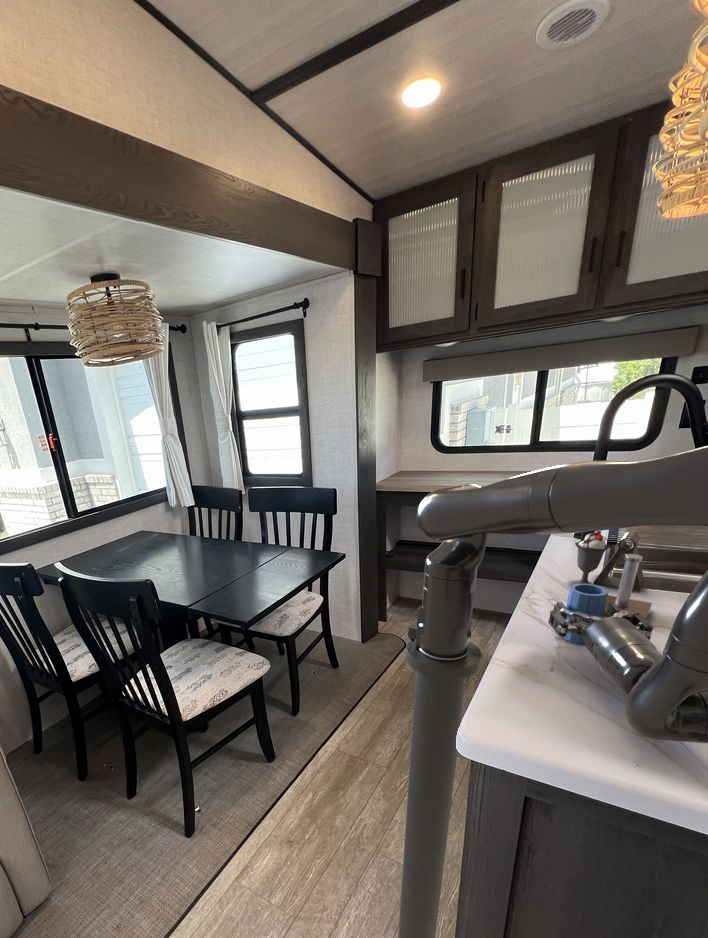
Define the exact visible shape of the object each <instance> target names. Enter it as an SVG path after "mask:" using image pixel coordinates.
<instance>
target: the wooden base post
mask: <svg viewBox="0 0 708 938" xmlns="http://www.w3.org/2000/svg"><path fill="white" fill-rule="evenodd" d="M643 558H644V556H642V555H640V554H639V555H637V554H626V553H625V555H624V558H623V559H624V561H625V562H624V566H623V569H622V574H621V577H620V578H621V581H620V585H619V588H617V593H616V596H615V595H609V594H608V597H607V601H606V605H605V609H604V614H603V616H607V617H609V615H608V614H607V613H606V610H607V606H608V603H614V604H615V605H616V606H618V607H620V608H621V609H622V610H623V611H627V612H628V614H632V615H633V613H635V612H636V613H641V614H642V615H643V616H644V617H645V618H646V619H647V620H648V616H649V614H650V611H651V608H652V604H653V603H652V602H647V601H642V600H636V599H632V598H631V595H632V593H633V591H632V589H633V585H634V581H635V578H636V574H637V570H638V566H639V562H643Z"/></svg>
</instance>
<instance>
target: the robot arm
mask: <svg viewBox="0 0 708 938" xmlns="http://www.w3.org/2000/svg"><path fill="white" fill-rule="evenodd" d="M416 509H417V510H416V516H415V517H416V518H415V519H416V523H417V525H418V528H419V529H420V531H421V532H422V533H423V534H424V535H425V536H426V537H428V538H430V539H432V540H434V541H439V542H441V544H440V545H439V546H438V547H437V548H435V549H434V550H433V551H431V552H430V553H429V554H428V555H427V556H426V558H425V561H424V574H423V575H424V576H423V589H422V602H421V605H420V606H419V607H418V608H417V615H416V621H415V622H414V623H412V624H411V625H410V626H408V630H407V638H408V639H409V641H410V640H411V641H412V642H413V641H415V639H416V644H415V650H418V651H420V652H421V653H422V654H423V655H424V656H426V657H428V658H430V659H433V660H437V661H443V662H454V661H459V660H462V659H464V658H465V657H466V656H467V655H468V647H469V641H471V639H472V632H471V627H472V619H473V611H474V601H475V594H476V584H477V577H478V576H477V575H478V569H479V565H480V564H481V562H482V561H483V558H484V556H485V552H486V545H487V539H488V535H490V534H491V535H492V534H495V535H563V534H577V533H589V532H590V533H591V532H596V531H601V532H602V531H611V530H618V529H619V530H621V529H627V528H635V527H641V526H642V527H644V526H689V527H708V445H704V446H701V447H697V448H694V449H689V450H686V451H682V452H677V453H673V454H669V455H665V456H661V457H656V458H651V459H644V460H643V459H642V460H631V461H630V460H605V459H603V460H587V461H577V462H572V463H567V464H562V465H556V466H552V467H546V468H543V469H542V468H541V469H539V470H534V471H531V472H527V473H523V474H520V475H516V476H513V477H509V478H506V479H503V480H499V481H496V482H493V483H490V484H487V485H484V486H479V485H478V484H471V483H467V484H460V485H454V486H449V487H443V488H439V489H436V490H433V491H431V492H430V493H428V494H427V495H426V496H424V497H423V499H422V500H421V501H420V503H419V504H418V507H417V508H416ZM606 613H607V614H608V615H609V617H607V616H600V617H596V616H590V615H587V614H584V613H582V612H579V611H577V612H572V611H569V610H568V609H567V608H566V605H565V604H564V603H563V601H556V603H554V605H553V609H550V611H549V617H548V621H547V623H548V625H550V627H551V628H552V629H553V631H554V632H555V633H556V634H557V635H558V636H559V637H562V638H563V637H566V635H567V633H576V634H577V635H578V636H580V637H582V638H583V641H584V643H585V644H584V646H585V647H586V649H587V650H588V651H589V652H590V655H592V657H593V658H594V660H596V662H597V663H598V665H599V666H600V667H601V669H603V671H605V673H607V674H608V675H609V676H610V677H611V678H612V680H613V681H614V682H615V683H616V685H617V686H618V687H619V689H620V690H621V691H622V692H623V693H624V695H626V700H625V703H624V715H625V719H626V721H627V723H628V725H629V726H630V728H631V729H632V730H633V731H634V732H635V733H637V734H638V735H639V736H641V737H644V738H646V739H650V740H655V741H656V740H657V741H667V742H668V741H671V742H672V741H673V742H683V743H697V744H708V569H707V570H706V571H705V572H704V574H703V575H702V577H701V578H700V579H699V581H698V582H697V583H696V585H695V586H694V588H693V589H692V590H691V592H690V594H689V595H688V596H687V598H686V600H685V601H684V603H683V604H682V606H681V608H680V610H679V612H678V613H677V615H676V617H675V619H674V621H673V624H672V626H671V630H670V632H669V634H668V637H667V640H666V643H665V644H664V648H663V651H662V653H660V652H659V651H658V649H657V648H656V646H655V644H654V643H653V641H651V637H652V635H653V630H654V626H653V624H652V623H651V622H650V621H649V620H648V618H647V619H646V618H645V617H644V616H643V615H642V614H641V613H636V612H635V613H633V615H632V614H628V612H627V611H623V610H622V609H621V608H620V607H618V606H616V605H615V604H614V603H608V606H607V610H606ZM567 616H570V618H571V619H570V621H569V620H566V619H567ZM579 618H582V620H581V621H580V622H579V623H578V620H579Z"/></svg>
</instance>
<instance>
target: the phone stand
mask: <svg viewBox="0 0 708 938" xmlns="http://www.w3.org/2000/svg"><path fill="white" fill-rule="evenodd" d="M630 535H631V531H627V532H625V534H624V535H623V536H622V538H621V539H620V540H619V542H618V546H617V549H616V551H615V552H614V554H613V555H612V557H611V558H610V559H609V561H608V562H607V563H606V564H605V566H604V567H603V568H602V569H601V571H600V572H599V573H598V575H597V576H596V578H595V580H594V581H593V582H592V583H593V584H595V585H597V586H600V587H608V588H613V589H615V588H616V589H619V585H620V581H621V577H614V576H609V574H610V573H611V571H612V569H614V567H615V565H616V563H617V561H618V560H619V558H620V557H621V555H622V554H625V555H626V554H637V555H640V553H639V549H638V548H639V547H638V543H639V540H640V534H638V532H637V531H636V532H634V533H633V535H632V536H631V538H630V541H631V542H627V541H626V540H627V539H628V537H629V536H630ZM641 562H642V561H641ZM641 562H639V566H638V570H637V574H636V578H635V581H634V585H633V589H632V592H637V593H640V592H641V591H642V589H643V586H644V584H645V578H644V573H643V568H642V563H641Z"/></svg>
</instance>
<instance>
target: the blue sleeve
mask: <svg viewBox="0 0 708 938" xmlns="http://www.w3.org/2000/svg"><path fill="white" fill-rule="evenodd" d="M608 595H609V590H608V589H607V588H606V587H604V586H601V585H592V584H575V585H571V586H570V587H569V591H568V596H567V600H566V605H565V606H566V608H567V609H568V610H569V611H572V612H577V611H579V612H582V613H584V614H587V615H590V616H596V617H600V616H603V614H604V609H605V605H606V601H607V597H608ZM570 619H571V618H570V616H567V619H566V620H569V621H570ZM581 620H582V618H579V620H578V623H579V622H580V621H581ZM562 638H563V639H565V640H566V641H568V642H571V643H576V644H580V645H585V643H584V641H583V638H582V637H580V636H578V635H577V634H576V633H567V635H566V637H562Z"/></svg>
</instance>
